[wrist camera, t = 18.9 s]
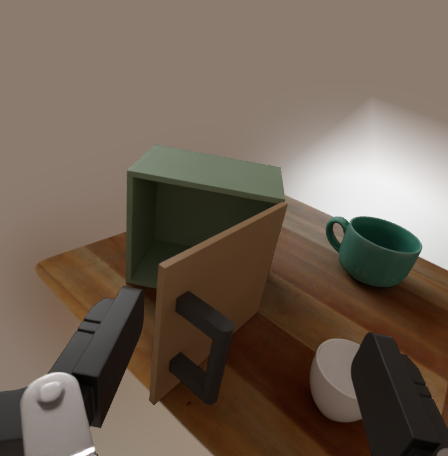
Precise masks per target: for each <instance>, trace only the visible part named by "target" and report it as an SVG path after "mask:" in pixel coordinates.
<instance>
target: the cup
mask: <svg viewBox="0 0 448 456" xmlns="http://www.w3.org/2000/svg"><path fill="white" fill-rule="evenodd" d="M359 347H360V345H359V344H357V343H355V342H352V341H349V340H345V339H329V340H326V341H324V342H323V343H321V344H320V346H319V347H318V349H317V351H316V353H315V356H314V358H313V361H312V364H311V368H310V375H309V382H310V390H311V394H312V397H313V400H314V402H315V404H316V406H317V407H318V409H319V411H320V412H321V413H322V414H323V415H324V416H325V417H327V418H328V419H330V420H333V421H336V422H343V423H348V422H354V421H358V420H361V419H362V416H361V413H360V409H359V405H358V401H357V398H356V394H355V390H354V387H353V383H352V379H351V364H352V361H353V359H354V357H355V355H356V353H357V351H358V349H359Z"/></svg>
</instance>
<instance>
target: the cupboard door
mask: <svg viewBox="0 0 448 456" xmlns="http://www.w3.org/2000/svg"><path fill="white" fill-rule="evenodd" d="M287 205H288V204H287V203H284V202H281V203H279V204H277V205H275V206H273V207H271V208H269V209H267V210H265V211H263V212H261V213H259V214H257V215H255V216H253V217H251V218H249V219H247V220H245V221H243V222H241V223H239V224H237V225H235V226H233V227H231V228H229V229H227V230H225V231H223V232H221V233H219V234H217V235H215V236H213V237H211V238H209V239H207V240H205V241H203V242H201V243H199V244H197V245H195V246H193V247H192V248H190V249H188V250H186V251H184V252H182V253H180V254H178V255H176V256H174V257H172V258H170V259H168V260H166V261H164V262H162V263H160V264H159V265H158V280H157V295H156V309H155V324H154V338H153V353H152V367H151V382H150V397H149V401H150V402H151V403H152V404H153V405H155V404H156V403H157V402H158V401H159V400H160V399H162V398H163V397H164V396H165V395H166V394H167V393H168V392H169V391H170V390H171V389H173V388H174V387H175V386H176V385H177V384H178V383H179V382H180V381H181V382H182V383H183V384H184V385H185V386H187V387H188V388H189V389H190V390H191V391H192V392H193V393H194V394H196V395H197V396H198V397H199V398H200V399H201V400H202V401H203V402H204V403H206V404H209V405H211V404H214V403H215V402H216V401H217V398H218V394H219V390H220V385H221V381H222V377H223V373H224V368H225V364H226V360H227V356H228V351H229V347H230V343H231V339H232V334H234V333H235V332H236V331H237V330H238V329H239V328H240V327H241V326H242V325H244V324H245V323H246V322H247V321H248V320H249V319H250V318H251V317H252V316H254V315H255V314H256V313H257V312H258V310H259V306H260V303H261V299H262V296H263V292H264V288H265V285H266V281H267V277H268V274H269V270H270V267H271V263H272V259H273V256H274V252H275V248H276V245H277V241H278V238H279V234H280V230H281V227H282V223H283V219H284V216H285V212H286V209H287ZM208 356H209V359H208V364H207V370H206V372H204V371H203V370H202V369H201V368H200V367H198V365H199V364H200V363H201V362H203V361H204V360H205V359H206V358H207V357H208Z"/></svg>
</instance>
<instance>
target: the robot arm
mask: <svg viewBox="0 0 448 456" xmlns="http://www.w3.org/2000/svg"><path fill="white" fill-rule="evenodd" d="M144 298H145V292H144V290H141V289H136V288H131V287H126V286H123V287H122V288H121V289H120V291H119V293H118V294H117V296H116V298H115V299H114V300H113V299H108V298H104V299H102V300H101V301H100V302H98V303H97V304H95V305H94V306H93V307H92V308H91V309H90V311H89V312H88V314H87V315H86V317H85V318H84V321H82V323H81V324H80V326H79V327H78V330H77V331H76V332H75V334H74V335H73V337H72V338H71V340H70V341H69V343H68V344H67V346H66V347H65V349H64V350H63V352H62V353H61V355H60V356H59V358H58V359H57V361H56V362H55V364H54V365H53V367H52V368H51V370H50V371H49V372H48V373H47V374H46V375H44V376H42V377H40V378H38V379H37V380H35V381H34V382H32V383H31V384H30V385H29V386H28V387H25V388H22V389H18V390H13V391H3V392H0V456H98V454H96V451H95V448H94V444H93V440H92V436H91V432H90V426H93V427H98V428H101V426H102V424H103V421H104V419H105V417H106V415H107V412H108V410H109V408H110V405H111V403H112V401H113V398H114V396H115V394H116V391H117V389H118V387H119V384H120V382H121V380H122V377H123V375H124V373H125V370H126V368H127V366H128V363H129V361H130V359H131V356H132V354H133V352H134V349H135V347H136V345H137V342H138V340H139V337H140V335H141V331H142V327H143V320H144ZM351 379H352V383H353V387H354V390H355V394H356V398H357V401H358V405H359V409H360V413H361V416H362V420H363V424H364V428H365V431H366V435H367V439H368V443H369V446H370V450H371V454H372V456H448V429H447V427H446V425H445V422H444V420H443V418H442V416H441V414H440V412H439V410H438V408H437V406H436V404H435V402H434V400H433V399H432V398H431V397H432V396H431V394H430V392H429V389H428V387H426V386H425V384H426V383H425V381H424V379H423V377H422V375H421V373H420V371H419V369H418V368H417V367H416V365H415V364H414V363H413V362H412V361H411V360H410V359H409V357H408V356H407V355H404V354H401V353H400V351H399V349H398V347H397V344H396V342H395V340H394V339H393V338H392V337H391V336H386V335H381V334H376V333H371V332H369V333H367V334H366V336H365V337H364V339H363V341H362V343H361V345H360V347H359V349H358V351H357V353H356V355H355V357H354V359H353V361H352V364H351Z"/></svg>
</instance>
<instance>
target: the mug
mask: <svg viewBox="0 0 448 456" xmlns="http://www.w3.org/2000/svg"><path fill="white" fill-rule="evenodd" d="M334 223H338V224H340V225H341V226H342V228H343V232H344V234H345V235H344V237H343V240H342V243H341V244H340V243H339V242H338V240H337V239H336V237H335V235H334V232H333V225H334ZM326 235H327V238H328V240H329V242H330V244H331V245H332V247H333V248H334V249H335V250H336V251H337V252H338V253H339V259H340V262H341V264H342V266H343V267H344V269H345V270H346V271H347V272H348V273H349V274H350V275H351V276H352V277H354V278H355V279H356V280H358V281H360V282H362V283H364V284H367V285H371V286H376V287H391V286H394V285H397V284H399V283H400V282H402V281H403V280H404V279H405V278H406V276H407V275H408V274H409V272H410V270H411V269H412V267H413V265H414V264H415V262H416V260H417V258H418V256H419V254H420V252H421V250H422V244H421V243H420V241H419V239H418V238H417V237H416V236H414V235H413V234H412V233H411V232H409V231H407V230H406V229H404V228H402V227H401V226H398V225H396V224H394V223H391V222H389V221H386V220H383V219H379V218H374V217H356V218H353V219H352V220H351V221H350V223H349V222H348V221H347V220H346V219H344V218H342V217H333V218H332V219H331V220H330V221H329V222H328V223H327V226H326Z"/></svg>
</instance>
